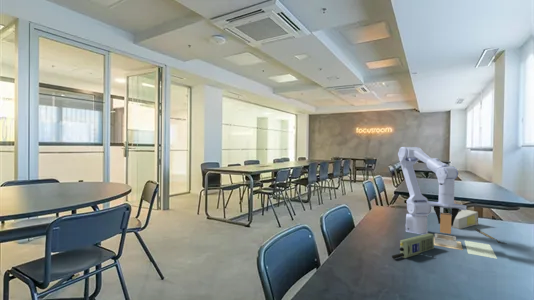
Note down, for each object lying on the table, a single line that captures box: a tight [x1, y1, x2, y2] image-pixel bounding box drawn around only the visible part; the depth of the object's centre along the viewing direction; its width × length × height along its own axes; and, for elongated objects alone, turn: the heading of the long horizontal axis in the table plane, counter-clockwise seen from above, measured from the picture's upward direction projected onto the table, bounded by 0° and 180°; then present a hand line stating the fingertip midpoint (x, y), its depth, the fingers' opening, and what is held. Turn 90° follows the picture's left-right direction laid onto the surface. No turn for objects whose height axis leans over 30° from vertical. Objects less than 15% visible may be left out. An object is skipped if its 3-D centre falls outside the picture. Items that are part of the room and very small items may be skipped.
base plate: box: [434, 236, 464, 251], centre depth 120 cm, size 12×12×1 cm
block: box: [451, 209, 479, 230], centre depth 150 cm, size 19×8×8 cm, turn 117°
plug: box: [439, 211, 452, 235], centre depth 119 cm, size 4×4×8 cm
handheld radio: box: [391, 232, 435, 260], centre depth 108 cm, size 7×3×25 cm
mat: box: [464, 240, 498, 260], centre depth 113 cm, size 9×18×1 cm, turn 147°
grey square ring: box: [434, 233, 457, 248], centre depth 120 cm, size 8×8×2 cm
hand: (445, 224), depth 120 cm, fingers closed on plug, 4 cm apart
